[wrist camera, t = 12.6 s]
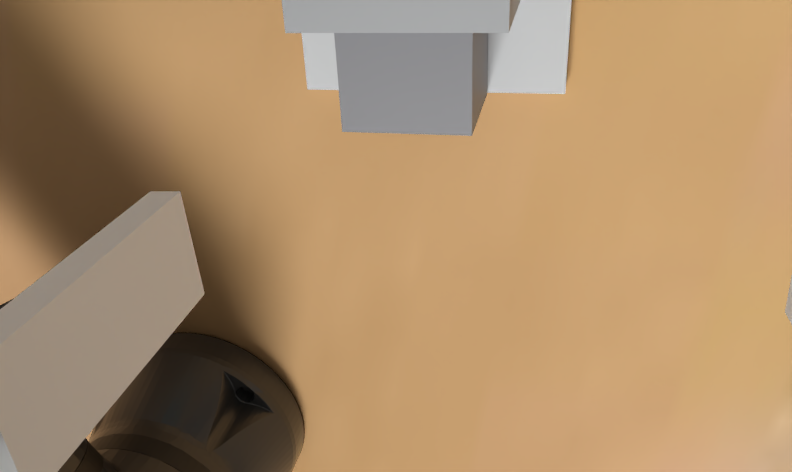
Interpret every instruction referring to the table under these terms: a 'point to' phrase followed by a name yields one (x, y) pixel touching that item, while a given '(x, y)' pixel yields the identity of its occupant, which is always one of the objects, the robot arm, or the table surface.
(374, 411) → the table surface
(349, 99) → the grey flanged post
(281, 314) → the table surface
